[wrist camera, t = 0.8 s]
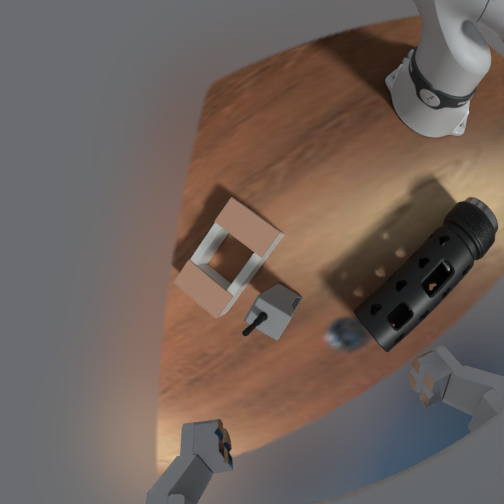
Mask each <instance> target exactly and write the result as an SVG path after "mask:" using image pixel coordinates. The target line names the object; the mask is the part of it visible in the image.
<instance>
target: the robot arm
mask: <svg viewBox="0 0 504 504" xmlns="http://www.w3.org/2000/svg"><path fill="white" fill-rule="evenodd" d="M413 1H414V3H415V5H416V6H417V8H418V11H419V13H420V16H421V19H422V32H421V37H420V41H419V45H418V46H417V47H416V48H415V50H414V49H412V50H411V51H410V52H409V54H408V58H409V59H408V58H406V57H405V58H404V59H403V61H402V62H403V64H400V66H399V67H398V68H397V69H396V70H394V71H393V72H392V73H391V74H390V75H388V76H387V77H386V79H385V84H386V86H387V87H388V89H389V91H390V92H391V96H392V102H393V106H394V108H395V111H396V113H397V114H398V116H399V117H400V119H401V120H402V121H403V122H404V123H405V124H406V125H407V126H408V127H410V128H411V129H412V130H414V131H415V132H417V133H419V134H422V135H424V136H428V137H442V136H445V135H455V136H461V135H462V134H463V133H464V131H465V126H466V121H467V116H468V114H469V104H470V99H471V98H472V97H473V94H474V93H475V91H476V87H477V85H478V84H479V82H480V81H481V80H482V78H483V77H484V76H485V74H486V73H487V72H488V70H489V68H490V65H491V54H490V50H489V47H488V45H487V43H486V41H485V39H484V37H483V35H482V34H481V33H480V31H479V30H478V29H477V27H476V26H475V25H474V24H473V23H476V24H477V25H479V26H480V27H482V28H484V29H485V30H487V31H488V32H490V33H491V34H493V35H494V36H496V37H497V38H499V39H500V40H502V41H503V42H504V0H413ZM472 22H473V23H472ZM393 78H394V79H393ZM459 125H461V126H459ZM411 365H412V367H413V369H412V370H411V372H410V377H409V378H410V383H411V385H412V388H413V389H414V390H415V392H418V393H420V399H421V401H422V402H423V404H424V405H425V407H426V408H428V407H430V406H432V405H434V404H436V403H438V402H440V401H442V400H443V402H445V403H447V404H449V405H451V406H453V407H455V408H457V409H459V410H461V411H463V412H465V413H467V414H470V415H472V416H473V418H472V420H471V422H470V424H469V427H468V428H469V429H470V431H471V433H469V434H468V435H466V436H465V437H463V438H462V439H460V440H459V441H457V442H456V443H454V444H452V445H451V446H449V447H447V448H445V449H444V450H442V451H440V452H439V453H437V454H435V455H433V456H431V457H429V458H428V459H426V460H424V461H422V462H420V463H418V464H416V465H414V466H412V467H410V468H408V469H406V470H404V471H401V472H400V473H397V474H395V475H393V476H390V477H388V478H386V479H383V480H381V481H378V482H376V483H373V484H371V485H368V486H366V487H363V488H360V489H357V490H355V491H352V492H349V493H346V494H343V495H340V496H337V497H333V498H330V499H327V500H323V501H319V502H316V503H312V504H504V377H503V376H499V375H496V374H493V373H489V372H486V371H482V370H479V369H476V368H472V367H468V366H466V365H465V366H462V365H461V364H460V363H459V362H458V361H457V360H456V359H455V358H454V356H452V354H451V353H450V352H449V351H448V350H447V349H446V348H445V347H444V346H442V345H441V346H439V347H437V348H435V349H433V350H431V351H429V352H427V353H425V354H423V355H420V356H418V357H416V358H414V359H413V360H412V364H411ZM231 449H232V448H231V441H230V436H229V434H228V432H227V430H226V429H225V428H223V423H222V422H221V420H220V419H217V420H210V421H202V422H194V423H186V424H183V426H182V435H181V450H180V456H177V457H176V458H175V459H174V461H173V462H172V463H171V464H170V466H169V467H168V468H167V469H166V471H165V472H164V473H163V474H162V476H161V477H160V478H159V479H158V481H157V482H156V483H155V484H154V485H153V487H152V488H151V489H150V490H149V491H148V493H147V498H146V504H197V503H198V501H199V499H200V497H201V496H202V494H203V492H204V490H205V489H206V487H207V485H208V484H209V482H210V480H211V478H212V477H213V473H219V472H226V471H232V470H233V461H232V456H231V455H230V453H229V452H230V450H231Z"/></svg>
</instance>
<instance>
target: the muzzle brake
mask: <svg viewBox="0 0 504 504" xmlns="http://www.w3.org/2000/svg"><path fill="white" fill-rule="evenodd" d="M443 225H444V226H443V227H439V228H437V229H436V230H435V231H434V233H433V234H432V235H431V236H430V237H429V238H428V239H427V240H426V241H425V242H424V243H423V244H422V245H421V246H420V248H419V249H418V250H417V251H416V252H415V253H414V254H413V255H412V256H411V257H410V258H409V259H408V260H407V261H406V262H405V263H404V264H403V265H402V266H401V267H400V268H399V269H398V270H397V271H396V272H395V273H394V274H393V275H392V276H391V277H390V278H389V279H388V280H387V281H386V282H385V283H383V284H382V285H381V286H380V287H379V288H378V289H377V290H376V291H375V292H374V293H373V294H372V295H371V296H370V297H368V298H367V299H366V300H365V301H364V302H363V303H362V304H361V305H360V306H358V307H357V308H356V309H355V310H354V313H355V315H356V316H357V318H358V319H359V320H360V322H361V323H362V324H363V325H364V327H365V328H366V329H367V331H368V332H369V333H370V334H371V335H372V337H373V338H374V339H375V340H376V341H377V343H378V344H379V345H380V346H381V347H382V348H383V349H384V350H385V351H386V352H389V351H390V350H391V349H392V348H393V347H394V346H395V345H397V344H398V343H399V342H400V341H401V340H402V339H403V338H404V337H406V336H407V335H408V334H409V333H410V332H411V331H412V330H413V329H414V328H415V327H416V326H417V325H418V324H419V323H420V322H422V321H423V320H424V319H425V318H426V317H427V316H428V315H429V314H430V313H431V312H432V311H433V310H434V309H435V308H436V307H437V306H438V305H439V304H440V302H441V301H442V300H443V299H444V298H445V297H446V296H447V295H448V294H449V293H450V292H451V291H452V290H453V289H454V288H455V286H456V285H457V284H458V283H459V282H460V281H461V280H462V279H463V277H464V276H465V275H466V274H467V273H468V272H469V270H470V269H471V268H472V267H473V265H474V260H478V259H481V258H482V257H483V256H484V255H485V254H486V252H487V251H488V250H489V248H490V247H491V246H492V244H493V243H494V241H495V234H496V232H497V230H498V222H497V219H496V217H495V215H494V214H493V212H492V211H491V210H490V208H489V207H488V206H487V205H486V204H484V203H483V202H482V201H480V200H478V199H477V198H474V197H469V198H467V199H466V200H465V201H462V202H458V203H457V204H456V205H455V206H454V207H453V209H452V210H451V211H450V212H449V213H448V214H447V216H446V217H445V219H444V222H443ZM434 283H435V284H437V285H436V286H435V287H433V290H429V285H430V284H434ZM409 309H410V311H409ZM392 324H395V326H394V327H393V325H392Z"/></svg>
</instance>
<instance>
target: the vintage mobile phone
mask: <svg viewBox="0 0 504 504" xmlns="http://www.w3.org/2000/svg"><path fill="white" fill-rule="evenodd" d="M302 298H303V297H301V296H300V295H298V294H296V293H294V292H293V291H291V290H289V289H288V288H286V287H284V286H282V285H281V284H279V283H278V284H277V285H275V286H273V287H272V288H270V289H268V290H267V291H265V292H263V293H262V294H260V295H258V296H257V298H256V300H255V301H254V303H253V305H252V307H251V308H250V310H249V312H248V314H247V315H246V317H245V319H244V321H245V322H247V323H249V324H250V326H248V327H247V328H246V329H245V330H244V331H243V332H242V334H243V335H244V336H247V335H249V334H250V333H251V332H252V331H253V330H254V329H255V328H257V329H258V330H260V331H262V332H263V333H265V334H267V335H268V336H270V337H272V338H273V339H275V340H278V339H279V337H280V336H281V334H282V332H283V331H284V329H285V328H286V326H287V324H288V323H289V321H290V319H291V318H292V314H293V313H294V311H295V310H296V308H297V306H298V305H299V303H300V301H301V299H302Z"/></svg>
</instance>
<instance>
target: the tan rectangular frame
mask: <svg viewBox="0 0 504 504" xmlns="http://www.w3.org/2000/svg"><path fill="white" fill-rule="evenodd" d="M214 222H215V224H214V225H213V226H212V228H211V229H210V231H209V232H208V234H207V235H206V237H205V238H204V240H203V241H202V243H201V244H200V245H199V247H198V248H197V250H196V251H195V253H194V254H193V256H192V257H191V259H190V260H188V261H187V263H186V264H185V266H184V267H183V269H182V270H181V272H180V273H179V275H178V276H177V278H176V279H175V281H174V283H175V284H176V285H177V286H179V287H180V288H181V289H182V290H183V291H184V292H185V293H186V294H188V295H189V296H190V297H191V298H192V299H193V300H194V301H196V302H197V303H198V304H199V305H200V306H201V307H203V308H204V309H205V310H206V311H207V312H208V313H210V314H211V315H212V316H213V317H214V318H216V319H217V318H218V317H220V316H222V315H224V314H226V313H227V312H228V310H229V309H230V308H231V306H232V305H233V304H234V302H235V301H236V300H237V298H238V297H239V296H240V294H241V293H242V292H243V290H244V289H245V288H246V286H247V285H248V284H249V282H250V281H251V280H252V278H253V277H254V275H255V274H256V273H257V271H258V270H259V269H260V267H261V266H262V265H263V263H264V262H265V261H266V259H267V258H268V256H269V255H270V254H271V252H272V251H273V250H274V248H275V247H276V246H277V244H278V243H279V241H280V240H281V239H282V237H283V236H284V235H285V234H283V233H282V232H281V231H279V230H278V229H277V228H275V227H274V226H272V225H271V224H270V223H268V222H267V221H266V220H264V219H263V218H261V217H260V216H259V215H257V214H256V213H255V212H253V211H252V210H250V209H249V208H248V207H246V206H245V205H244V204H242V203H241V202H239V201H237V200H236V199H234V198H232V197H231V198H230V200H229V201H228V203H227V204H226V205H225V207H224V208H223V210H222V211H221V213H220V214H219V216H218V217H217V218H216V220H215V221H214ZM229 233H230V234H231V235H232V236H234V237H235V238H236V239H238V240H239V241H240V242H241V243H243V244H244V245H245V246H247V247H248V248H249V249H251V250H252V251H253V252H254V254H253V255H252V256H251V258H250V259H249V261H248V262H247V263H246V265H245V266H244V267H243V269H242V270H241V272H240V273H239V274H238V276H237V277H236V278H235V280H234V281H233V283H232V284H231V283H230V282H229V281H227V280H226V279H225V278H224V277H222V276H221V275H220V274H219V273H218V272H216V271H215V270H214V269H213V268H212V267H210V266H209V265H208V262H209V261H210V259H211V258H212V257H213V255H214V254H215V252H216V251H217V249H218V248H219V246H220V245H221V244H222V242H223V241H224V239H225V238H226V236H227V235H228V234H229Z"/></svg>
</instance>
